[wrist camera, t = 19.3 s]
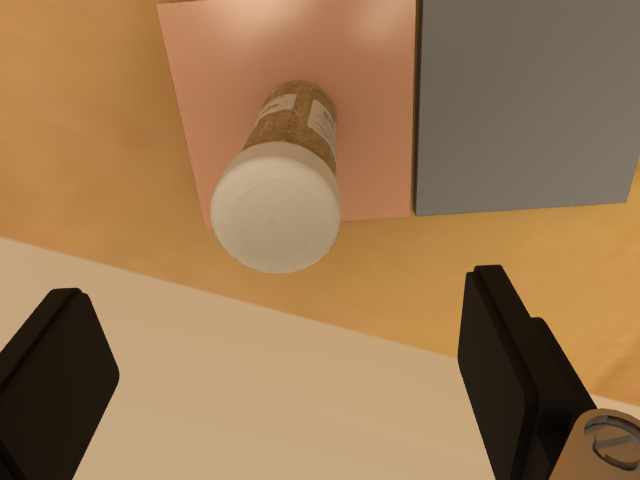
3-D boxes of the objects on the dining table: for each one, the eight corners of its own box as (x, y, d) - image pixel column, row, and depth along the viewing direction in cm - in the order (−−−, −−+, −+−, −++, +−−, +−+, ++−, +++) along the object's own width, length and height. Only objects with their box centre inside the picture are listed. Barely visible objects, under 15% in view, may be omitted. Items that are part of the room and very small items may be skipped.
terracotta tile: (412, -18, 25) (416, -17, 24) (407, 210, 32) (410, 216, 31) (161, 2, 26) (156, 4, 25) (208, 223, 33) (205, 230, 32)
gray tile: (680, -40, 25) (693, -40, 24) (617, 196, 32) (626, 202, 31) (420, -19, 25) (423, -18, 24) (413, 209, 32) (416, 216, 31)
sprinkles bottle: (261, 76, 27) (204, 152, 15) (341, 83, 27) (348, 164, 15) (259, 154, 29) (209, 273, 17) (334, 160, 29) (334, 283, 17)
